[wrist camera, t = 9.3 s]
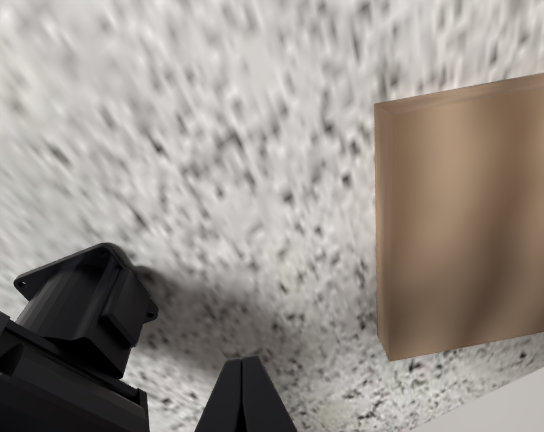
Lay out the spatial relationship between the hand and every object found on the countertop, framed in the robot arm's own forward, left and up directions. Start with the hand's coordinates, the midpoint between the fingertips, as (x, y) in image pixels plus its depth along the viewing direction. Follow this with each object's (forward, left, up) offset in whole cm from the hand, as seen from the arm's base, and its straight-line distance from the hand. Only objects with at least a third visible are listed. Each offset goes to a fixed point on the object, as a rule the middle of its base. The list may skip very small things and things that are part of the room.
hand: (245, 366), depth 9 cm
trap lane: (+17, -10, -13) cm, 24 cm away
